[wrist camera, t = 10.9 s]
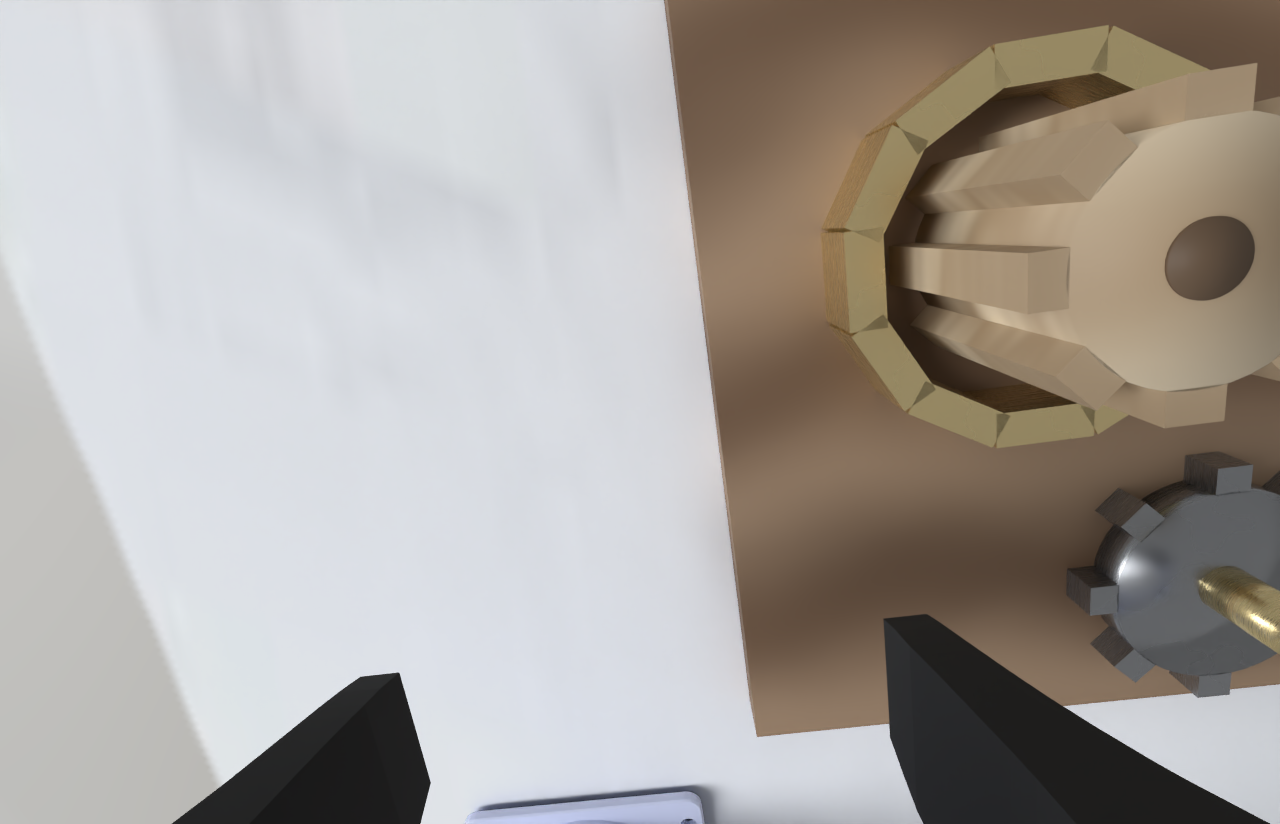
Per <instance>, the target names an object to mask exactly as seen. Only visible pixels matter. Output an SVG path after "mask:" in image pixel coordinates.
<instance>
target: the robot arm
mask: <svg viewBox="0 0 1280 824" xmlns="http://www.w3.org/2000/svg"><path fill="white" fill-rule="evenodd" d="M883 621H884V638H885V656H886V673H887V691H888V708H889V725H890V738H891V741H892V744H893V746H894V749H895V752H896V755H897V757H898V760H899V763H900V766H901V769H902V771H903V774H904V777H905V780H906V782H907V785H908V788H909V790H910V793H911V796H912V798H913V801H914V803H915V806H916V809H917V811H918V813H919V815H920V817H921V819H922V822H923V824H1270V823H1268V822H1266V821H1264V820H1262V819H1260V818H1258V817H1256V816H1254V815H1252V814H1250V813H1248V812H1247V811H1245V810H1243V809H1241V808H1239V807H1237V806H1235V805H1233V804H1231V803H1229V802H1228V801H1226V800H1224V799H1222V798H1220V797H1218V796H1216V795H1214V794H1212V793H1210V792H1208V791H1207V790H1205V789H1203V788H1201V787H1199V786H1197V785H1195V784H1193V783H1191V782H1189V781H1188V780H1186V779H1184V778H1182V777H1180V776H1179V775H1177V774H1175V773H1173V772H1171V771H1170V770H1168V769H1166V768H1164V767H1163V766H1161V765H1159V764H1157V763H1155V762H1154V761H1152V760H1150V759H1149V758H1147V757H1145V756H1144V755H1142V754H1140V753H1139V752H1137V751H1135V750H1133V749H1132V748H1130V747H1128V746H1127V745H1125V744H1123V743H1122V742H1120V741H1118V740H1117V739H1115V738H1113V737H1112V736H1110V735H1108V734H1107V733H1105V732H1103V731H1102V730H1100V729H1098V728H1097V727H1095V726H1093V725H1092V724H1090V723H1089V722H1087V721H1085V720H1084V719H1082V718H1081V717H1079V716H1077V715H1076V714H1074V713H1073V712H1071V711H1070V710H1068V709H1066V708H1065V707H1063V706H1062V705H1060V704H1059V703H1057V702H1056V701H1054V700H1052V699H1051V698H1049V697H1048V696H1046V695H1045V694H1043V693H1042V692H1040V691H1039V690H1037V689H1036V688H1034V687H1033V686H1031V685H1030V684H1028V683H1027V682H1025V681H1024V680H1022V679H1021V678H1019V677H1018V676H1016V675H1015V674H1013V673H1012V672H1010V671H1009V670H1008V669H1006V668H1005V667H1003V666H1002V665H1000V664H999V663H997V662H996V661H995V660H993V659H992V658H990V657H989V656H987V655H986V654H984V653H983V652H982V651H980V650H979V649H977V648H976V647H974V646H973V645H972V644H970V643H969V642H967V641H966V640H964V639H963V638H962V637H960V636H959V635H957V634H956V633H954V632H953V631H952V630H950V629H949V628H947V627H946V626H944V625H943V624H942V623H940V622H939V621H937V620H936V619H934V618H933V617H931V616H930V615H928V614H920V615H911V616H902V617H893V618H884V619H883ZM430 783H431V782H430V779H429V775H428V772H427V768H426V765H425V761H424V758H423V754H422V751H421V747H420V744H419V740H418V737H417V733H416V730H415V726H414V723H413V719H412V716H411V712H410V709H409V705H408V702H407V698H406V695H405V691H404V688H403V684H402V681H401V677H400V674H399V673H391V674H382V675H373V676H364V677H360V678H358V679H357V680H355V681H354V682H352V683H351V684H350V685H348V686H347V687H345V688H344V689H343V690H341V691H340V692H339V693H337V694H336V695H335V696H333V697H332V698H331V699H330V700H328V701H327V702H326V703H324V704H323V705H322V706H321V707H319V708H318V709H317V710H316V711H314V712H313V713H312V714H311V715H309V716H308V717H307V718H306V719H304V720H303V721H302V722H301V723H299V724H298V725H297V726H296V727H294V728H293V729H292V730H291V731H289V732H288V733H287V734H286V735H285V736H283V737H282V738H281V739H280V740H278V741H277V742H276V743H275V744H273V745H272V746H271V747H270V748H268V749H267V750H266V751H265V752H263V753H262V754H261V755H260V756H258V757H257V758H256V759H255V760H253V761H252V762H251V763H250V764H248V765H247V766H246V767H245V768H243V769H242V770H241V771H240V772H239V773H237V774H236V775H235V776H234V777H232V778H231V779H230V780H229V781H227V782H226V783H225V784H223V785H222V786H221V787H220V788H218V789H217V790H216V791H214V792H213V793H212V794H210V795H209V796H208V797H206V798H205V799H204V800H203V801H201V802H200V803H198V804H197V805H196V806H195V807H193V808H192V809H191V810H189V811H188V812H187V813H185V814H184V815H183V816H181V817H180V818H179V819H178V820H176V821H175V822H173V823H172V824H420V823H421V819H422V815H423V811H424V807H425V803H426V799H427V795H428V791H429V787H430ZM684 819H693V820H690V821H687V820H684ZM465 824H705V822H704V815H703V809H702V802H701V800H700V798H699V797H698V796H697V795H696V794H694V793H692V792H685V791H684V792H674V793H663V794H653V795H642V796H632V797H622V798H611V799H601V800H590V801H580V802H569V803H559V804H549V805H538V806H528V807H517V808H507V809H497V810H486V811H477V812H473V813H471V814H470V815H468V816H467V818H466V821H465Z"/></svg>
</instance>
